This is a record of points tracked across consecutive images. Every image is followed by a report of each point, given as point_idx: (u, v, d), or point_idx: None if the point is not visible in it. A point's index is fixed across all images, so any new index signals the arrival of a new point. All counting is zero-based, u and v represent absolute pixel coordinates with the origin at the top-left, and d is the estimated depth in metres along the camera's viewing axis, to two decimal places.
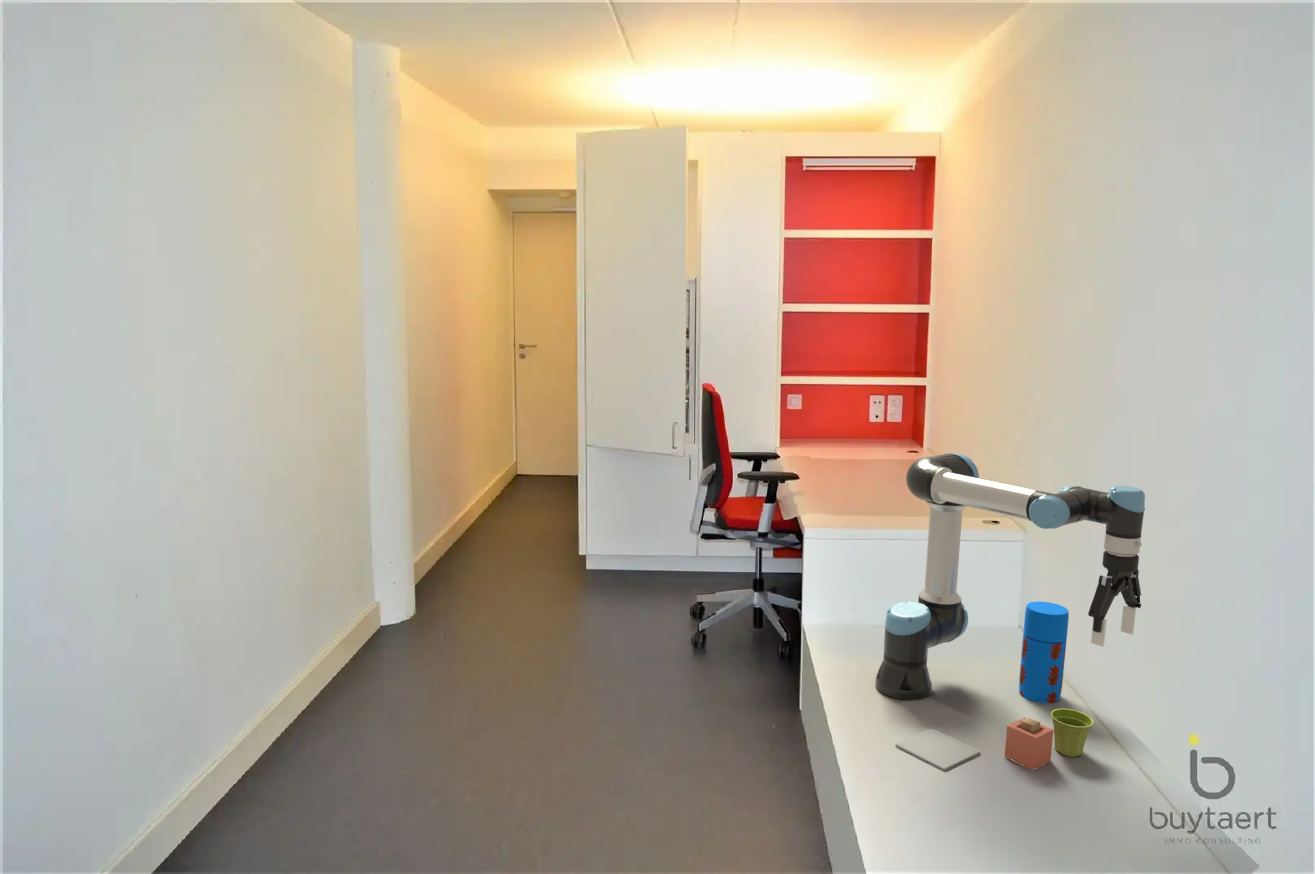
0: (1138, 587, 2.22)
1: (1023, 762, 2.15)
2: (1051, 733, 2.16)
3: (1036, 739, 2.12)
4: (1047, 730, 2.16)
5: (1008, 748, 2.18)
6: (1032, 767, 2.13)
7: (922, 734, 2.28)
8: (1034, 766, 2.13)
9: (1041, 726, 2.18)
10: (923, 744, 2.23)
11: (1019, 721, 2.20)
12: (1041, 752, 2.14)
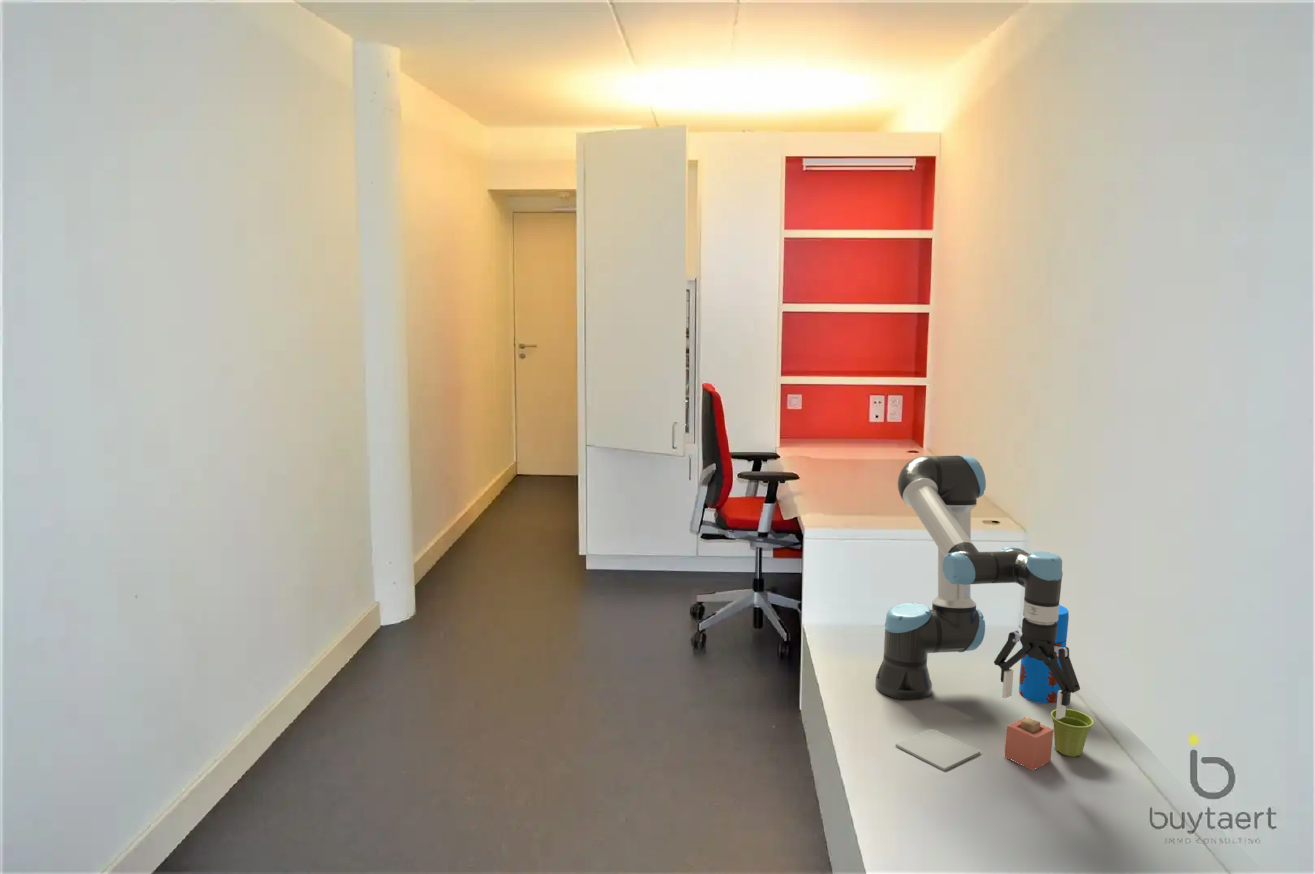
0: (1065, 671, 2.07)
1: (1023, 762, 2.15)
2: (1051, 733, 2.16)
3: (1036, 739, 2.12)
4: (1047, 730, 2.16)
5: (1008, 748, 2.18)
6: (1032, 767, 2.13)
7: (922, 734, 2.28)
8: (1034, 766, 2.13)
9: (1041, 726, 2.18)
10: (923, 744, 2.23)
11: (1019, 721, 2.20)
12: (1041, 752, 2.14)
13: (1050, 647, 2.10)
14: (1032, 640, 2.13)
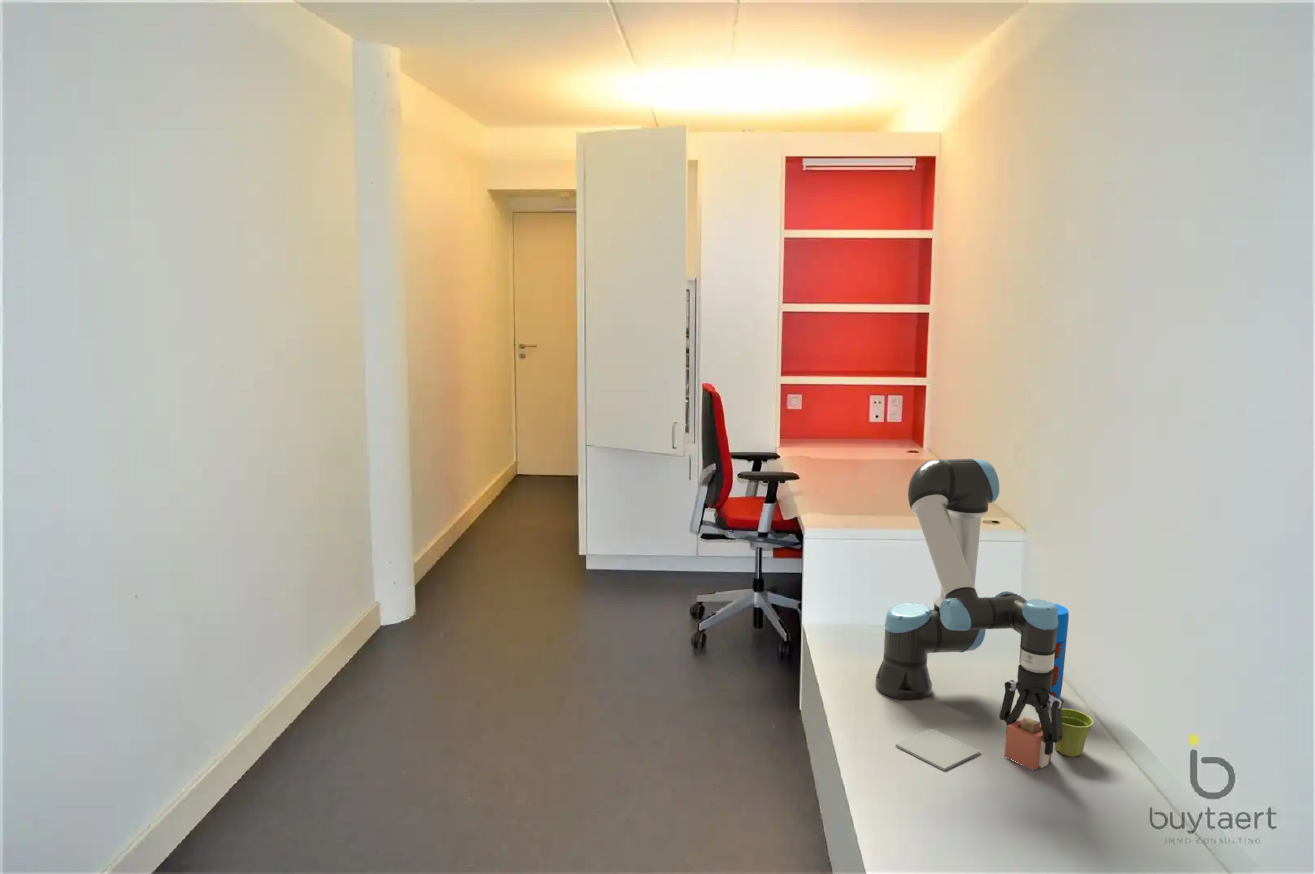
0: (1053, 722, 2.11)
1: (1023, 762, 2.15)
2: None
3: (1036, 739, 2.12)
4: None
5: (1008, 748, 2.18)
6: (1032, 767, 2.13)
7: (922, 734, 2.28)
8: (1034, 766, 2.13)
9: None
10: (923, 744, 2.23)
11: (1019, 721, 2.20)
12: None
13: (1046, 696, 2.12)
14: None
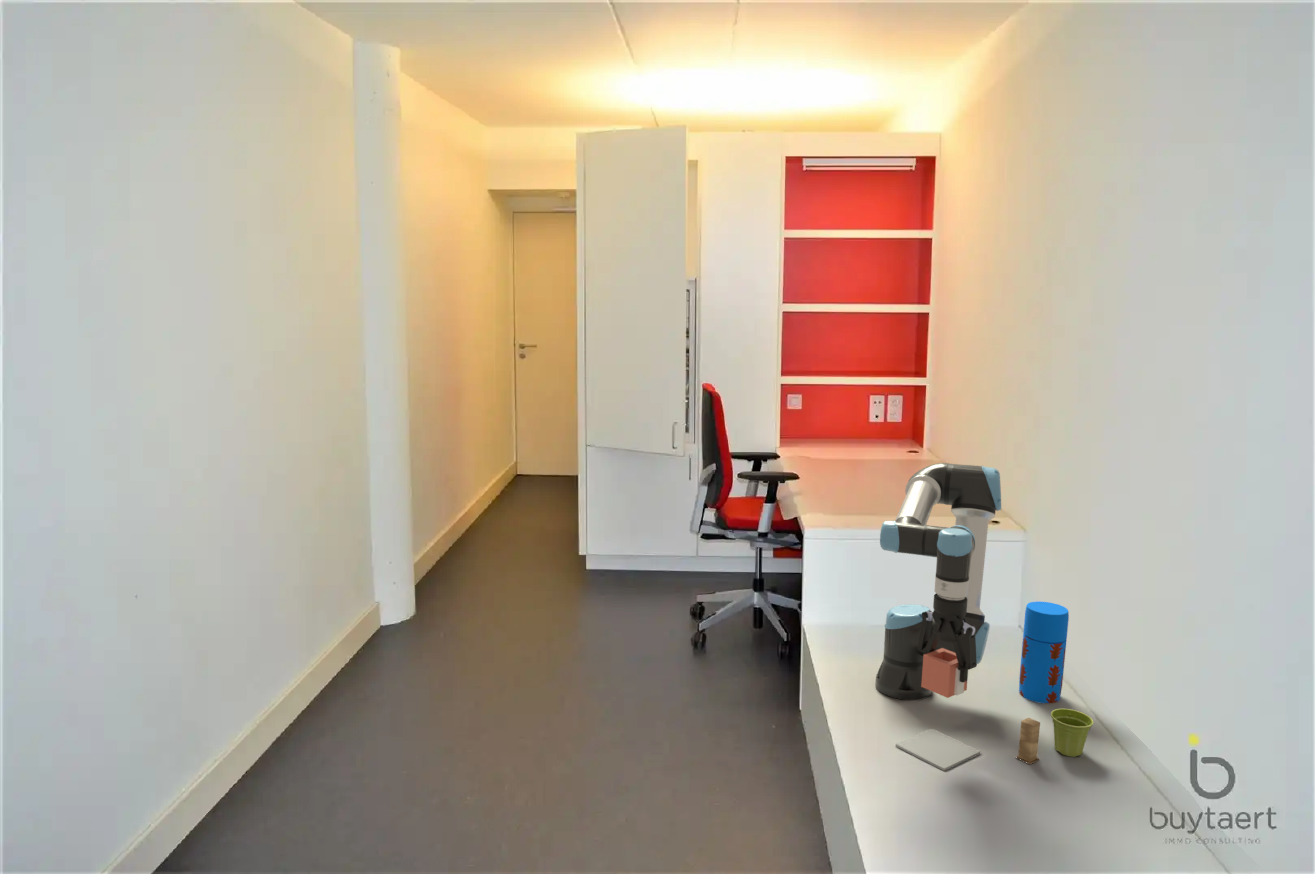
0: (967, 649, 2.12)
1: (938, 690, 2.16)
2: None
3: (950, 666, 2.13)
4: None
5: (925, 677, 2.19)
6: (947, 695, 2.14)
7: (922, 734, 2.28)
8: (949, 694, 2.14)
9: None
10: (923, 744, 2.23)
11: (936, 651, 2.21)
12: None
13: (960, 623, 2.13)
14: None
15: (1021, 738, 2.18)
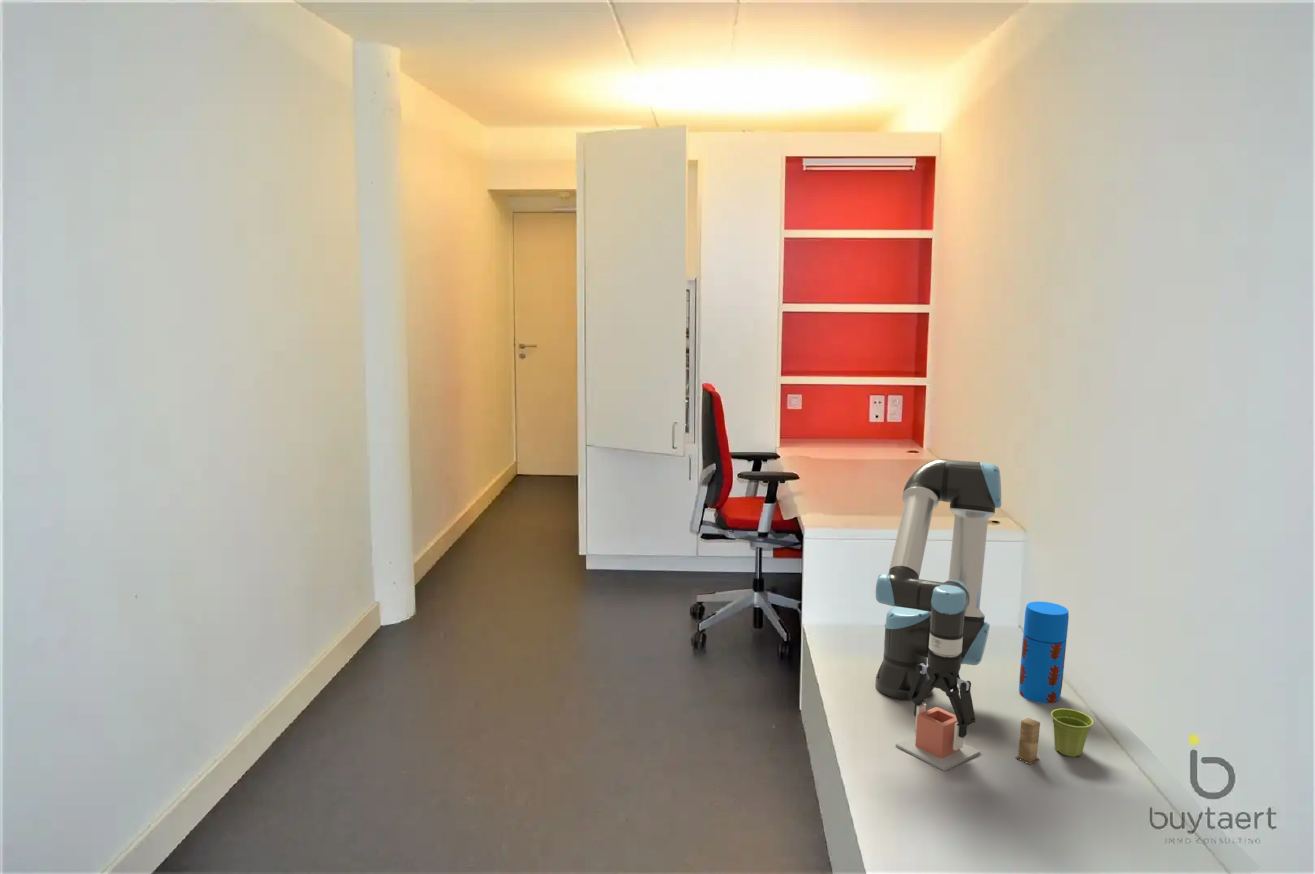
0: (963, 704, 2.13)
1: (932, 750, 2.19)
2: None
3: (944, 727, 2.16)
4: (956, 719, 2.19)
5: (919, 736, 2.21)
6: (940, 755, 2.17)
7: None
8: (942, 754, 2.17)
9: (951, 715, 2.21)
10: None
11: (930, 710, 2.24)
12: (949, 740, 2.18)
13: (953, 679, 2.15)
14: None
15: (1021, 738, 2.18)
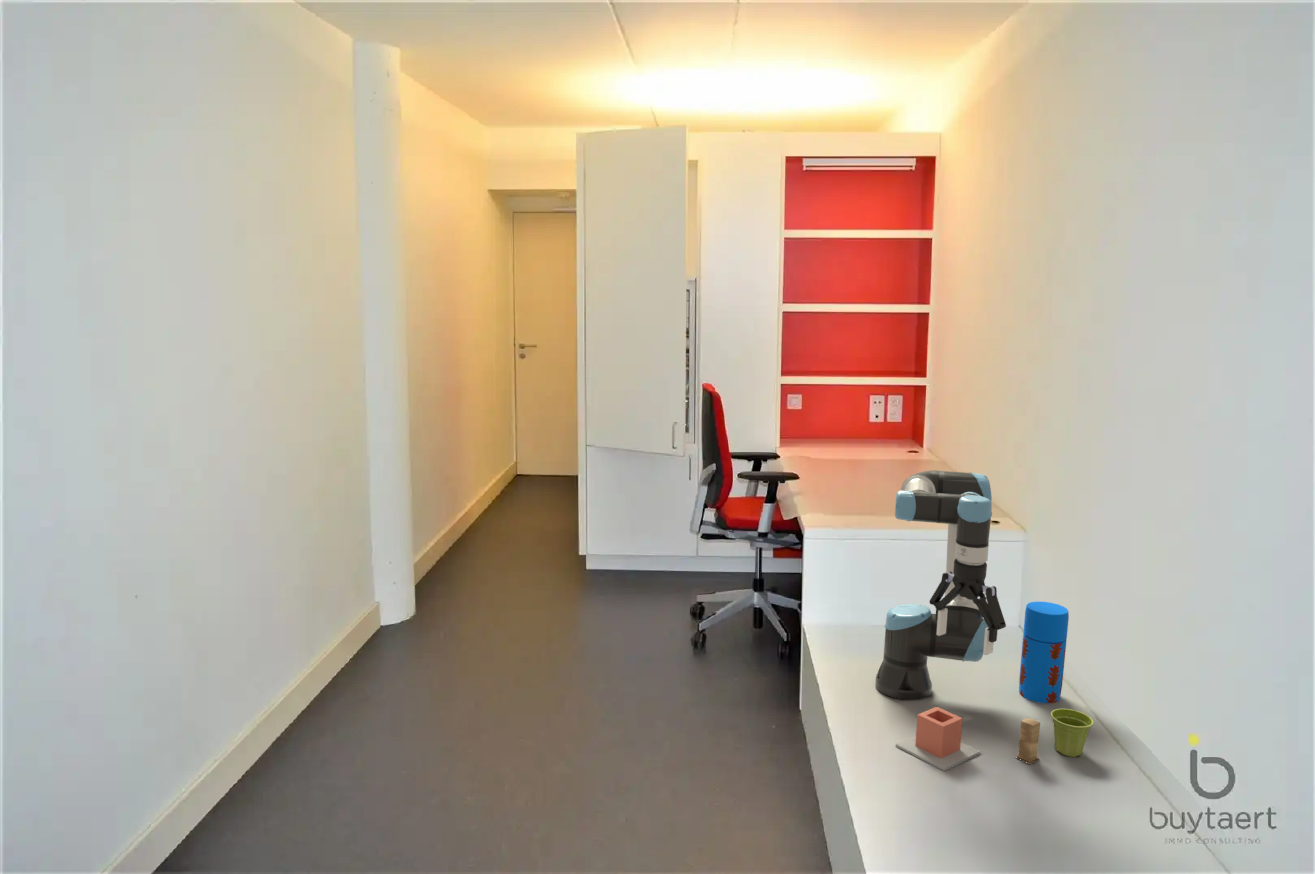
0: (991, 609, 2.16)
1: (932, 750, 2.19)
2: (960, 722, 2.20)
3: (944, 727, 2.16)
4: (956, 719, 2.19)
5: (919, 736, 2.21)
6: (940, 755, 2.17)
7: None
8: (942, 754, 2.17)
9: (951, 715, 2.21)
10: None
11: (930, 710, 2.24)
12: (949, 740, 2.18)
13: (979, 586, 2.19)
14: (963, 580, 2.22)
15: (1021, 738, 2.18)
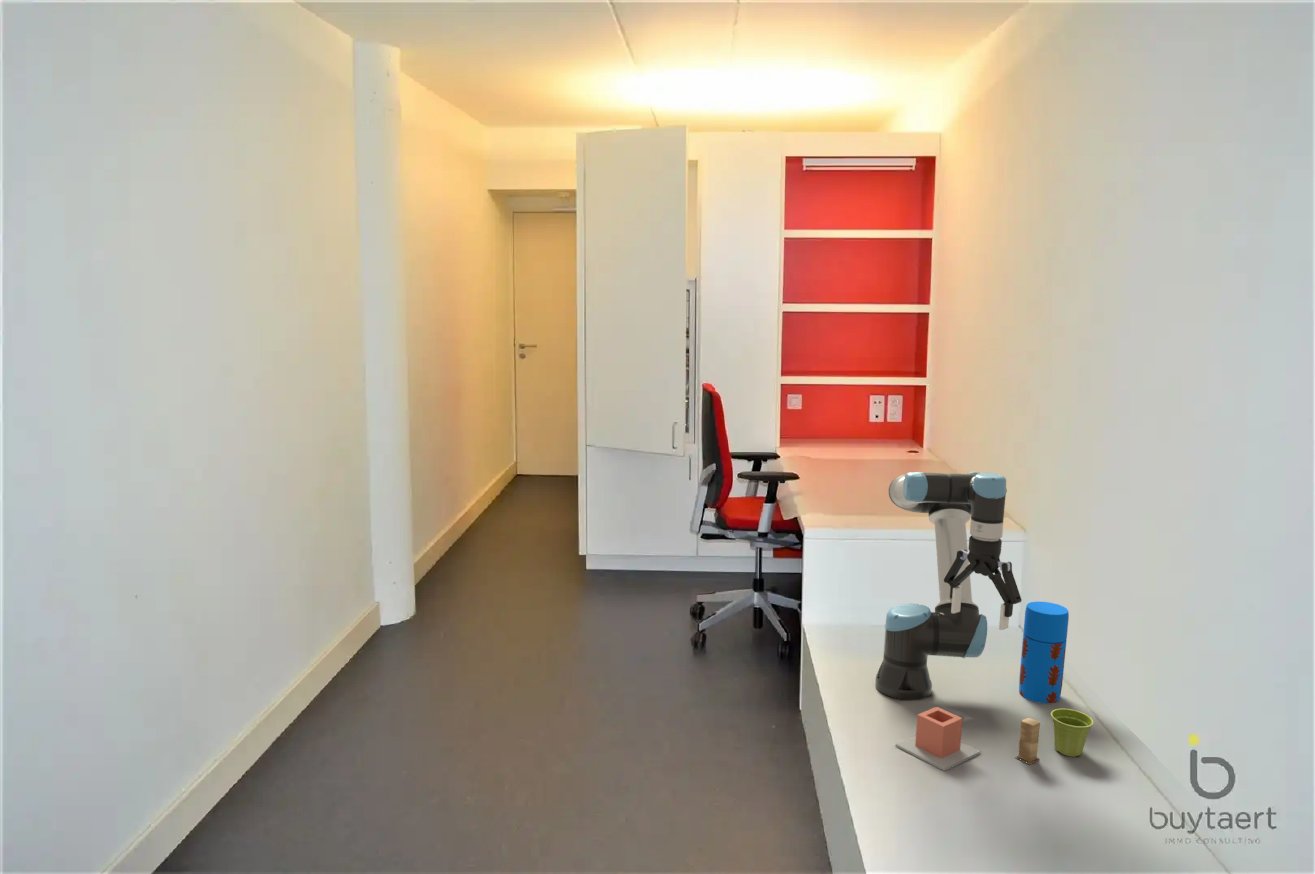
0: (1007, 584, 2.20)
1: (932, 750, 2.19)
2: (960, 722, 2.20)
3: (944, 727, 2.16)
4: (956, 719, 2.19)
5: (919, 736, 2.21)
6: (940, 755, 2.17)
7: None
8: (942, 754, 2.17)
9: (951, 715, 2.21)
10: None
11: (930, 710, 2.24)
12: (949, 740, 2.18)
13: (994, 562, 2.22)
14: (978, 557, 2.26)
15: (1021, 738, 2.18)
